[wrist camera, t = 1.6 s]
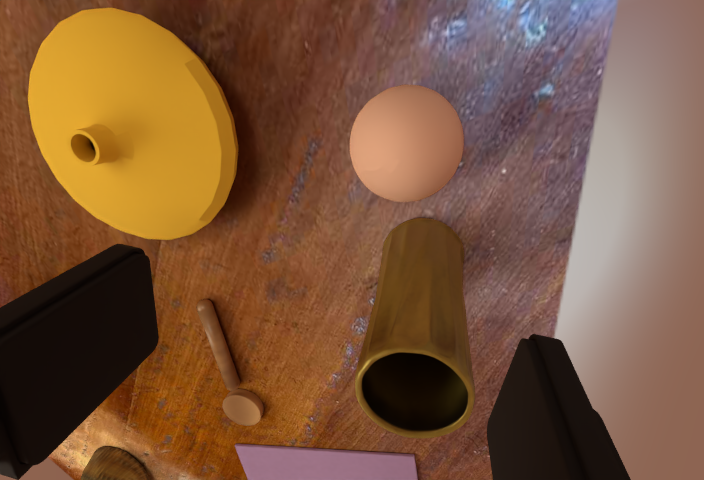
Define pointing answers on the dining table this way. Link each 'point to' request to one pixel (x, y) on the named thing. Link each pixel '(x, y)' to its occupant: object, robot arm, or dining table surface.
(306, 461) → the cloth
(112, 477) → the seashell
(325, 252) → the dining table surface
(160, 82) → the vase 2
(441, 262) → the vase
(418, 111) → the egg
